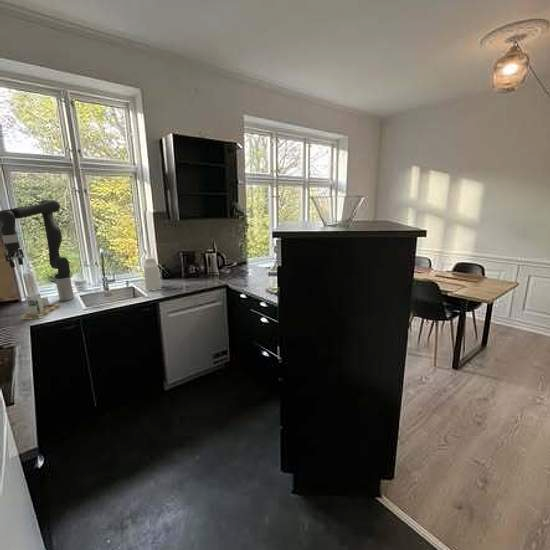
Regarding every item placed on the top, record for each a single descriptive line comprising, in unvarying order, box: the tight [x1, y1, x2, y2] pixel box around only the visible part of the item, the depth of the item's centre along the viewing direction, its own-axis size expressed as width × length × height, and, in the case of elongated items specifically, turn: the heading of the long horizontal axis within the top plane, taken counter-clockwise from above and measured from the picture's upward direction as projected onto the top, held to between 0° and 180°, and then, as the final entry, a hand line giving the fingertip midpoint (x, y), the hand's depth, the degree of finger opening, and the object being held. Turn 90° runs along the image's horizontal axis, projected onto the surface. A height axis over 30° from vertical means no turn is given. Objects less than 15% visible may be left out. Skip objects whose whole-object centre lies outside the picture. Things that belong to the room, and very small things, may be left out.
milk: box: [144, 257, 162, 291], centre depth 254 cm, size 12×12×26 cm
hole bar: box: [20, 303, 62, 321], centre depth 206 cm, size 23×12×2 cm, turn 9°
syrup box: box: [25, 293, 44, 315], centre depth 199 cm, size 6×6×14 cm
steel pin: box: [41, 296, 50, 309], centre depth 210 cm, size 4×4×9 cm
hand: (17, 266), depth 202 cm, fingers open, 8 cm apart
